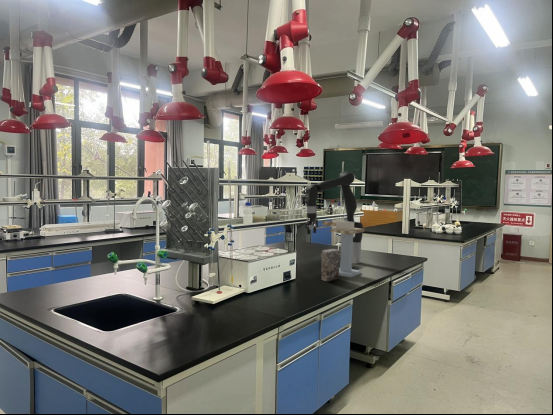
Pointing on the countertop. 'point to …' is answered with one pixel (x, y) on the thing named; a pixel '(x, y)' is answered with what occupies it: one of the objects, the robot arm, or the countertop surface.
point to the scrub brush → (340, 224)
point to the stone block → (330, 264)
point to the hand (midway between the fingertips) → (311, 233)
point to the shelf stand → (347, 251)
